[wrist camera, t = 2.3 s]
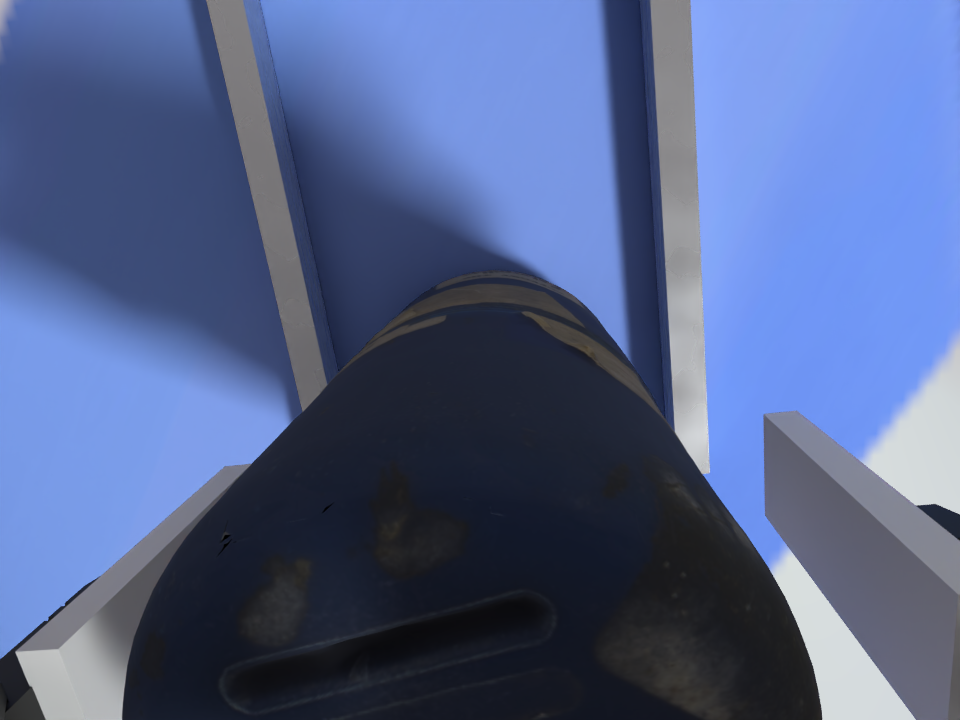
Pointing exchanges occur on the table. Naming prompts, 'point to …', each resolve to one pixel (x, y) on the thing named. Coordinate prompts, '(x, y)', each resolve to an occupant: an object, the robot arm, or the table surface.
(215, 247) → the table surface
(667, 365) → the rail track
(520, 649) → the canister
